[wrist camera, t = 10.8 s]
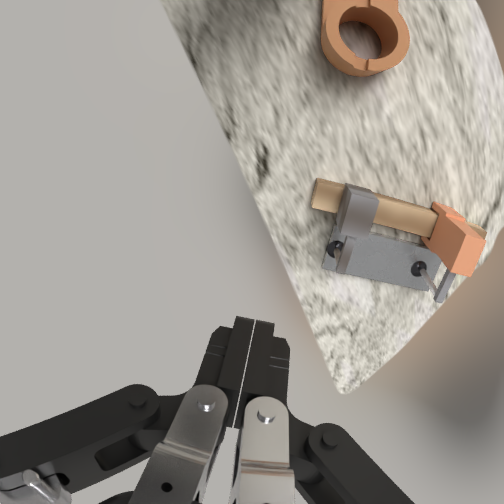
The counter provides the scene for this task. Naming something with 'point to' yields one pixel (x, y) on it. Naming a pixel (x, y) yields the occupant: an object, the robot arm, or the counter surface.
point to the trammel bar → (370, 215)
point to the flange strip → (385, 259)
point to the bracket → (374, 15)
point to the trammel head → (452, 248)
